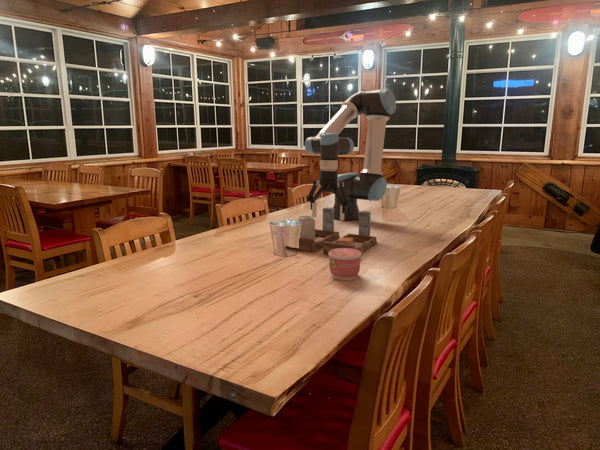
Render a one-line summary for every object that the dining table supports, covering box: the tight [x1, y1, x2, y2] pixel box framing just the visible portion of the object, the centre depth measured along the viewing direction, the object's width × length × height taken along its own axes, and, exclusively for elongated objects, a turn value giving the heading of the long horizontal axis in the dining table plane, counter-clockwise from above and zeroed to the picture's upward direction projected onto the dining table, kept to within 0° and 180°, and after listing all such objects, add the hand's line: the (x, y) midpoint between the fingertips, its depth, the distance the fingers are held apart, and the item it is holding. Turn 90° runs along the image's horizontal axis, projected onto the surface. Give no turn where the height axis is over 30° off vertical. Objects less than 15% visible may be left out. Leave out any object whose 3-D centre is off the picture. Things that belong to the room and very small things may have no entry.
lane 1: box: [298, 206, 340, 252], centre depth 181 cm, size 28×12×12 cm, turn 150°
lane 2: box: [322, 210, 378, 255], centre depth 173 cm, size 28×12×12 cm, turn 150°
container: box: [328, 248, 362, 281], centre depth 140 cm, size 10×10×8 cm
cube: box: [337, 236, 354, 245], centre depth 168 cm, size 5×5×5 cm
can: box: [296, 215, 316, 243], centre depth 175 cm, size 8×8×12 cm
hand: (327, 218), depth 191 cm, fingers open, 13 cm apart
